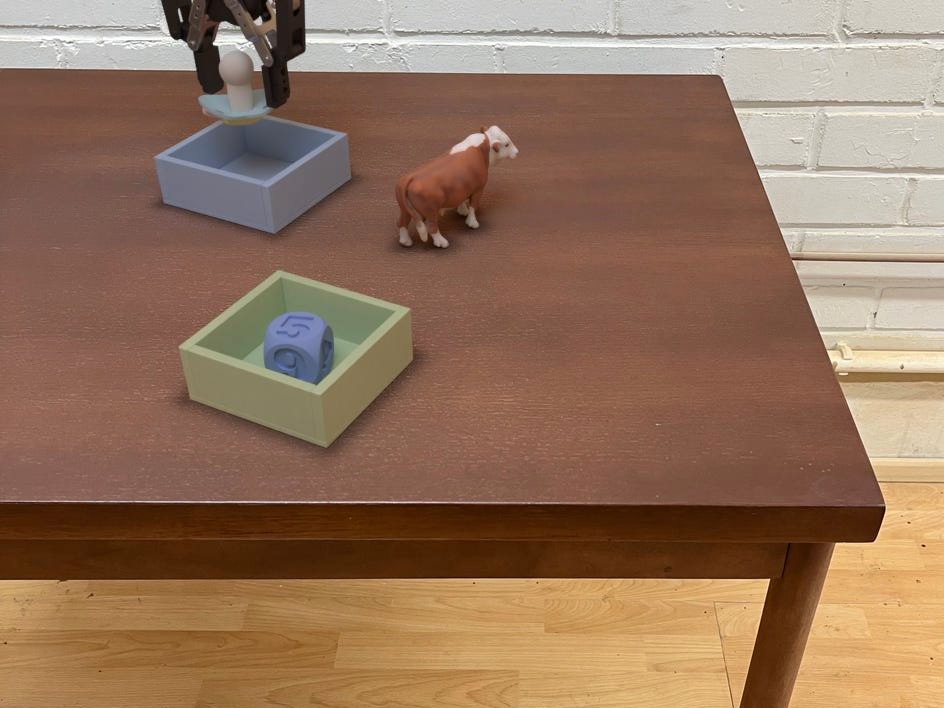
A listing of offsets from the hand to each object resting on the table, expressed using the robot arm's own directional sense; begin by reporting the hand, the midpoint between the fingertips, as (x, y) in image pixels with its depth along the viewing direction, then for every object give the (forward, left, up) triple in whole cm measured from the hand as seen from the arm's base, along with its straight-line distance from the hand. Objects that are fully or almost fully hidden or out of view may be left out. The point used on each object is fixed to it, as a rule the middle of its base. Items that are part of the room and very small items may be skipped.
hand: (245, 97), depth 90 cm
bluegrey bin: (0, 0, -9) cm, 9 cm away
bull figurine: (+20, +2, -9) cm, 22 cm away
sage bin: (+21, -23, -9) cm, 32 cm away
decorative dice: (+21, -23, -9) cm, 32 cm away
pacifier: (-1, 0, -2) cm, 2 cm away
